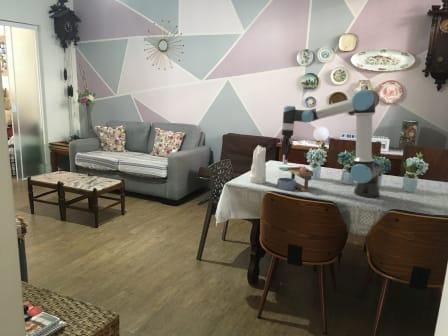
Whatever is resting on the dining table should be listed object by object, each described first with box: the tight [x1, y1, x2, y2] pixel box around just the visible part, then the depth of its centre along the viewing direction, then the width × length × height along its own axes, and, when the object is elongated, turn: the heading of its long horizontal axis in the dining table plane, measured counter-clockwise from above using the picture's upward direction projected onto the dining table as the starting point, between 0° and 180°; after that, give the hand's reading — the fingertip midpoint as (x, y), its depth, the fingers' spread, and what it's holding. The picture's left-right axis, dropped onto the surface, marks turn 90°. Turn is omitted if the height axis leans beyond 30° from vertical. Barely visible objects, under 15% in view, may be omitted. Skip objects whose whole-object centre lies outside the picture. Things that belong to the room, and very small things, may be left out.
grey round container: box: [276, 177, 297, 191], centre depth 236 cm, size 11×11×6 cm
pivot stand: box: [290, 173, 312, 193], centre depth 238 cm, size 20×6×10 cm, turn 17°
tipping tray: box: [278, 165, 314, 181], centre depth 240 cm, size 23×13×6 cm, turn 17°
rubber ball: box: [300, 166, 307, 172], centre depth 235 cm, size 4×4×4 cm
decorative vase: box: [249, 144, 267, 185], centre depth 247 cm, size 11×11×25 cm
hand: (284, 164), depth 246 cm, fingers closed
